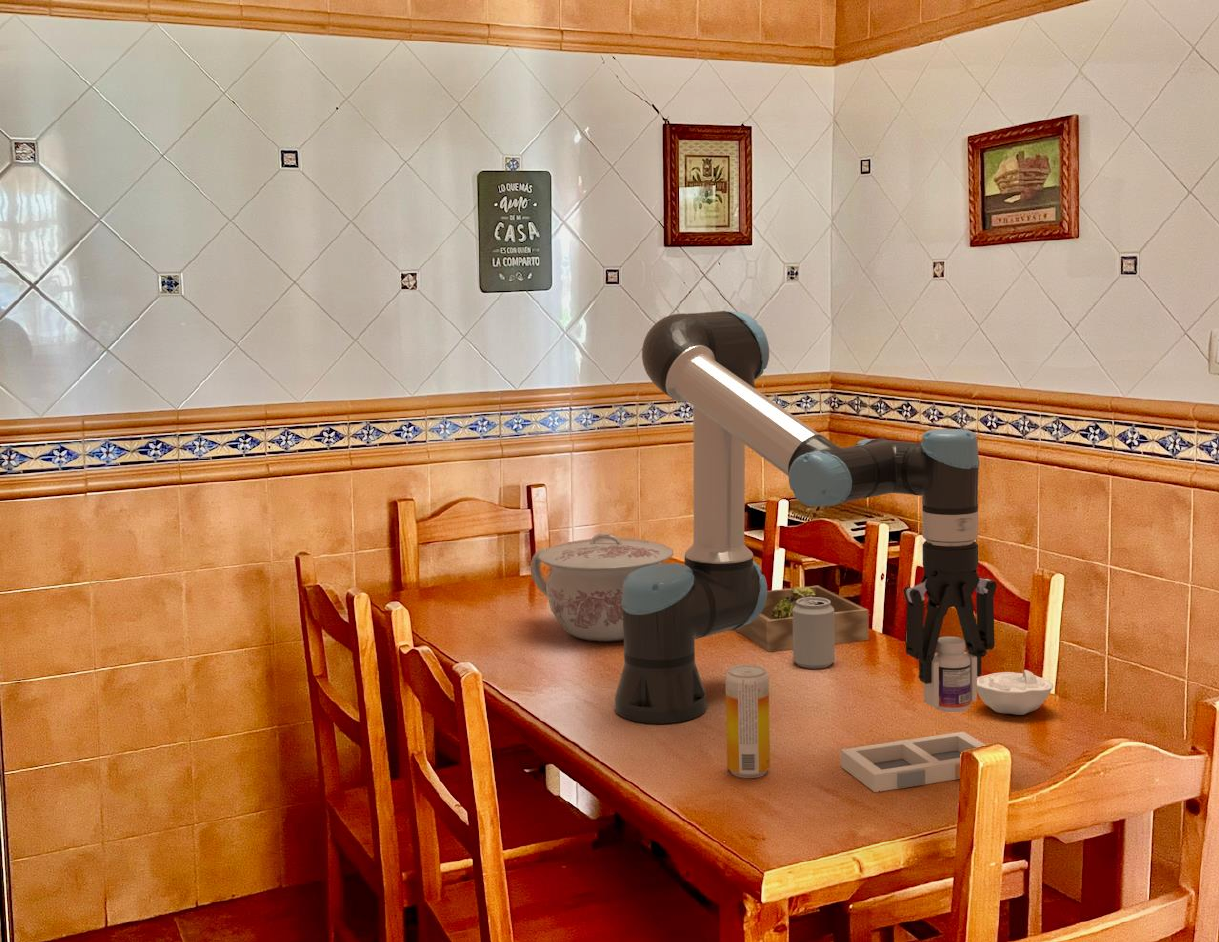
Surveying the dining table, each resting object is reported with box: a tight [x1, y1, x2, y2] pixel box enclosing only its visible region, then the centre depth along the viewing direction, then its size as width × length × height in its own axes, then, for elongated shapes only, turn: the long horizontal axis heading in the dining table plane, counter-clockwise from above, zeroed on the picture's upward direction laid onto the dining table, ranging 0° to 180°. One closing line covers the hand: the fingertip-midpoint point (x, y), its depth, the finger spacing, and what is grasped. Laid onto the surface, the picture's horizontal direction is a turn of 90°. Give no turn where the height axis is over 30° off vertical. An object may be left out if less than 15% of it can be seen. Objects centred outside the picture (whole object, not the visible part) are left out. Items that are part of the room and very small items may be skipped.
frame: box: [735, 585, 870, 653], centre depth 247 cm, size 21×22×6 cm
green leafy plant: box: [772, 585, 815, 619], centre depth 246 cm, size 17×16×10 cm
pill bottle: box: [933, 636, 971, 713], centre depth 175 cm, size 5×5×10 cm
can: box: [792, 597, 836, 670], centre depth 225 cm, size 8×8×12 cm
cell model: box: [977, 669, 1055, 716], centre depth 197 cm, size 10×12×7 cm
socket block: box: [840, 731, 987, 793], centre depth 175 cm, size 20×10×2 cm, turn 107°
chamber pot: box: [529, 532, 674, 643], centre depth 250 cm, size 28×28×21 cm
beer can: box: [725, 664, 771, 779], centre depth 176 cm, size 6×6×15 cm
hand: (950, 701), depth 175 cm, fingers closed on pill bottle, 5 cm apart
